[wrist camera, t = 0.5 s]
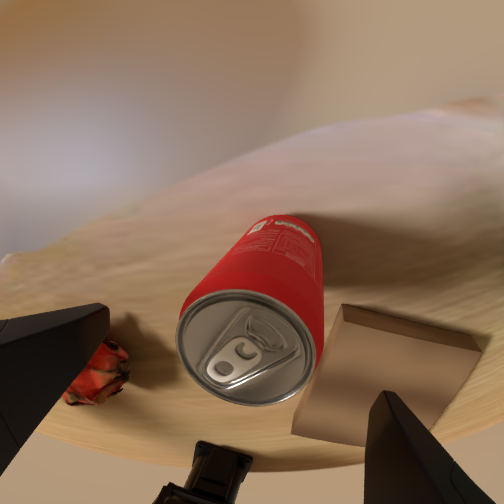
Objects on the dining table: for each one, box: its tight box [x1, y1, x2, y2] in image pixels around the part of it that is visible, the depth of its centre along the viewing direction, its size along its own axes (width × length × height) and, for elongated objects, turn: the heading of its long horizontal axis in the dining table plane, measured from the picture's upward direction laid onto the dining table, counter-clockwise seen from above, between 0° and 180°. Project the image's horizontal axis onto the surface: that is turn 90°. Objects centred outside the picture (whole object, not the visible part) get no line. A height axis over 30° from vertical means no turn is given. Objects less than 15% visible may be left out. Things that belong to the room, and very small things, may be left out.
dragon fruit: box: [62, 341, 130, 406], centre depth 24 cm, size 8×8×12 cm
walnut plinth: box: [291, 304, 482, 447], centre depth 21 cm, size 12×12×2 cm
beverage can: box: [176, 215, 324, 407], centre depth 15 cm, size 5×5×12 cm
